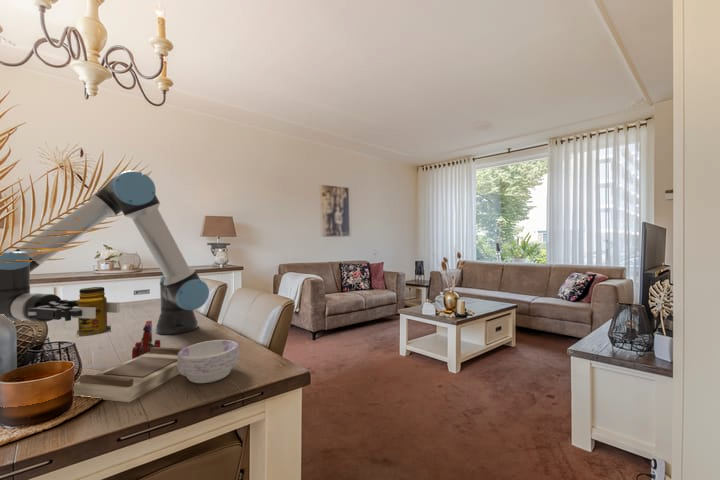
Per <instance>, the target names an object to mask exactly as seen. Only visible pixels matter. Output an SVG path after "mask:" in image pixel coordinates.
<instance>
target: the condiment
mask: <svg viewBox="0 0 720 480" xmlns="http://www.w3.org/2000/svg"><path fill="white" fill-rule="evenodd" d="M105 295H106V293H105V287H104V286H103V287H102V286H93V287H92V286H91V287H86V288H84V287H83V288H80V289H79V296H78V297H79V299H77V300H78V307H96V318H94V319H89V318H77V321H78V328H77V329H78V330H76V335H75V338H81V337H90V336H91V337H92V336H97V335H101V334H106V333H112V326H111V324H110V325H108V312H107V302H108V300H107V297H106V296H105Z"/></svg>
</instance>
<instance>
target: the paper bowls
mask: <svg viewBox="0 0 720 480" xmlns="http://www.w3.org/2000/svg"><path fill="white" fill-rule="evenodd" d="M239 348H240V347H239V344H238V342H236V341H234V340H229V339H214V340H207V341H201V342H198V343H194V344H191V345H188V346H186V347H184V348H183V347H182V348H181V349H182V350H180V351H179V352H178V354H177V362H178V372H179V373H180V374H179V375H182V376H183V377H186V378H187V380H188V381H190V382H191V383H194V384H208V383H213V382H217V381H220V380H223V379H224V378H226V377H227V376H229V374H230V373H231V371H232V368H234V367H235V366H237V364H239V362H240V356H239V355H240V353H239V350H240V349H239Z"/></svg>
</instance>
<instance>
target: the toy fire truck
mask: <svg viewBox="0 0 720 480" xmlns="http://www.w3.org/2000/svg"><path fill="white" fill-rule="evenodd" d="M152 324H153V321H152V320H147V321H145V324H144V327H143V328H142V329H143V330H142V331H143V333H142V337H141V339H140V341H137V342H135V346H133V347H132V349H131V350H132V353H131V359H134V358H136V357H139V356H141V355H143V354H146V353H148V352H150V348H151V347H161V339H155V340H154V344H153V343H152V342H153V334H152V333H153V331H152V328H153V325H152Z"/></svg>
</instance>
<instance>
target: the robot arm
mask: <svg viewBox="0 0 720 480" xmlns="http://www.w3.org/2000/svg"><path fill="white" fill-rule="evenodd" d="M156 190H157V189H156V185H155V182H154V181H153V180H152V178H151V177H149V175H147V174H146V173H145V172H144V173H143V172H142V171H138V170H126V171H122V172H120V173H118V174H116V175H115V176H114V177H113V178H111V179H110V180H109V181H108V182H107V183H106V184H105V185H104V186H103V187H102V188H100V189H98V191H97V192H95V193H94V194H92V195H91V199H90V200H89V201H87V202H86V203H84V204H83V205H80V207H78V208H76V209H75V210H74V211H73V212H71V213H70V214H68V215H66V216H65V217H63V218H61V219H60V220H59V221H57V222H55V223H54V224H52V225H51V226H49V227H48V228H47V229H45V230H43V231H42V232H40V233H39V234H37V235H36V236H47V235H61V234H66V233H67V232H65V231H54V230H68V231H81V230H84V231H83V232H81V233H78V234H73V235H69V236H59V237H36V236H34V237H33V238H31V239H30V240H28V241H27V242H38V243H49V244H34V243H27V242H25V243H24V244H22V245H21V246H18V248H58V247H65V246H66V247H68V246H69V245H70V244H68V245H67V244H54V243H71V244H72V243H73V242H75V241H76V240H78V239H79V238H80V237H83V235H84V234H86V233H88V232H89V231H90V230H92V229H94V228H95V227H96V226H97V225H99V224H101V223H102V222H103V221H105V220H106V219H107V218H109V217H116V216H117V215H118V214H120V213H122V214H123V216H124V217H126V218H129V219H131V220H132V221H133V222H134V225H135V227H136V228H137V230H138V232H139V233H140V235H141V237H142V239H143V241H144V242H145V244H146V246H147V248H148V249H149V251H150V253H151V255H152V257H153V259H154V260H155V262H156V264H157V265H158V267H159V270H160V271H161V272H162V274H163V275H162V276H161V277H160V279H159V280H160V281H159V285H160V286H159V287H160V288H159V289H160V290H159V292H160V314H159V318H158V320H157V323H156V325H155V326H156V327H155V333H156V334H158V335H159V334H161V335H176V334H183V333H187V332H190V331H193V330H196V329H197V328H198V327H199V324H198V319H197V316H196V315H195V311H194V310H198V309H200V308H202V307H203V306H204V305H205V304H206V303H207V302H208V299H209V296H210V288H209V286H208V284H207V283H206V282H205V281H204V280H202V279H200V277H199V274H198V273H197V270H196V269H195V268H194V267H193V268H192V267H190V266H189V265H188V263H187V261H186V259H185V258H184V257H185V256H183V253H182V252H181V250H180V248H179V246H178V244H177V242H176V241H175V239H174V237H173V235H172V233H171V231H170V230H169V227H168V226H167V224H166V222H165V220H164V218H163V217H162V213H160V210H159V209H160V208H159V207H160V205H161V203H160V200H159V198H158V197H157V195H156ZM74 218H78V219H80V220H76V219H74ZM72 219H73V220H72ZM47 230H49V231H47ZM85 230H89V231H85ZM66 247H65V248H66ZM18 248H17V249H15V250H14V251H3V252H4V253H3V254H4V255H2V256H0V261H16V260H42V261H32V262H12V263H6V262H0V314H4V315H5V316H6V317H7V318H9V319H10V320H9V321H28V324H30V323H33V322H44V323H46V322H51V321H55V320H57V321H58V320H59V321H60V320H62V318H64V321H65V322H70V321H72V318H73V319H78V318H89V319H94V318H96V307H78V300H79V299H76V300H73V299H72V300H68V299H61V297H60V296H58V295H56V294H53V293H33V292H31V286H30V285H31V284H30V282H31V281H30V279H31V278H30V277H31V274H30V273H31V272H32V271H34V270H35V269H37V268H38V267H39V266H41V265H42V264H44V263H45V262H46V261H48V260H49V259H51V258H52V257H54V256H55V255H57V254H58V253H60V252H61V251H62V250H58V251H54V252H52V253H45V254H37V255H19V254H29V253H33V252H38V251H37V250H27V249H18ZM107 313H114V314H115V313H117V314H119V313H120V302H119V301H118V302H117V301H116V302H115V301H107Z"/></svg>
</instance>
